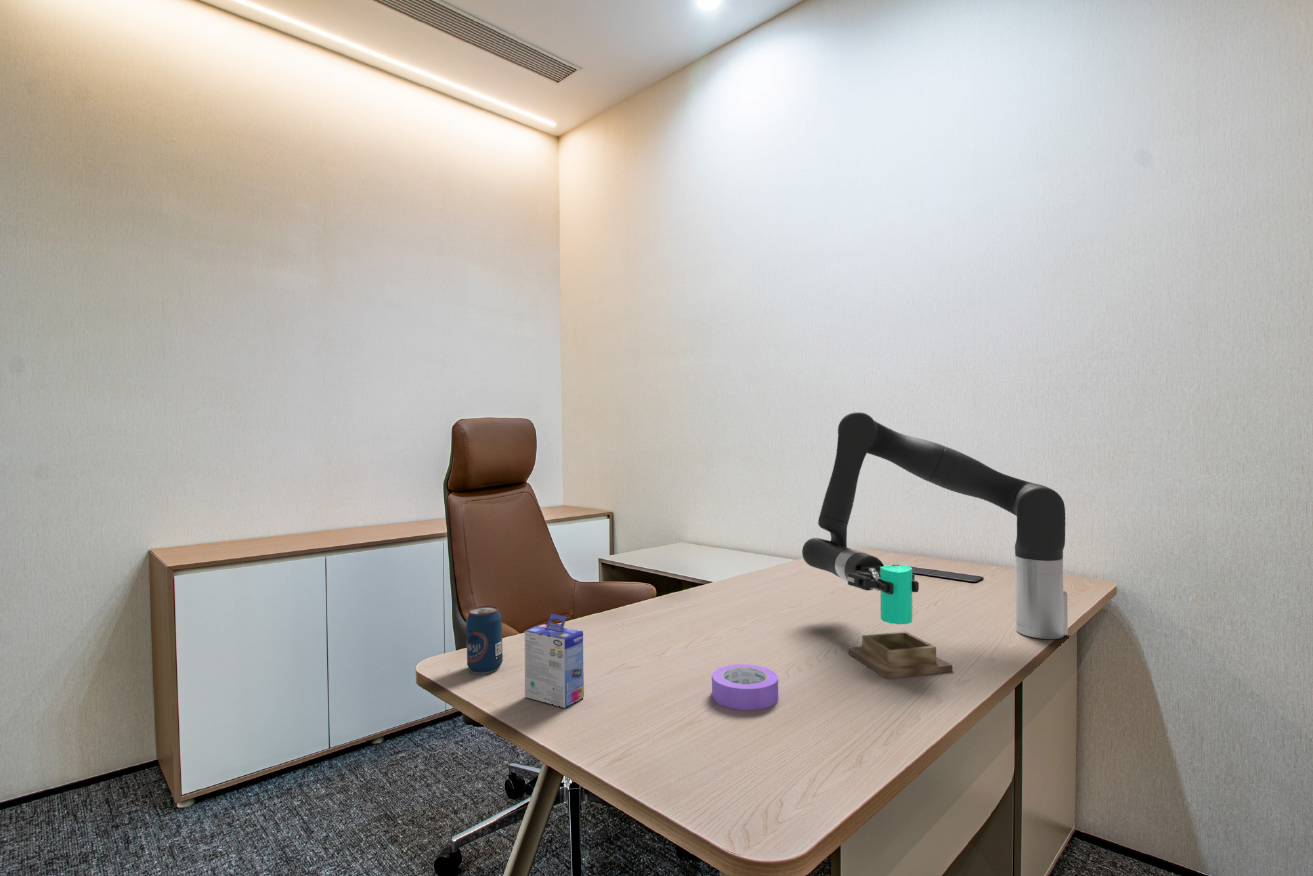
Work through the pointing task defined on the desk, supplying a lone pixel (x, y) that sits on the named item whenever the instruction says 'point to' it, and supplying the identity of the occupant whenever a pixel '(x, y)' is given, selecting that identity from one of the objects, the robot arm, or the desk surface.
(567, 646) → the ink cartridge box
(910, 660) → the candle holder
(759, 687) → the masking tape
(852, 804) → the desk surface
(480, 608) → the soda can
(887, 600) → the candle
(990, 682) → the desk surface
